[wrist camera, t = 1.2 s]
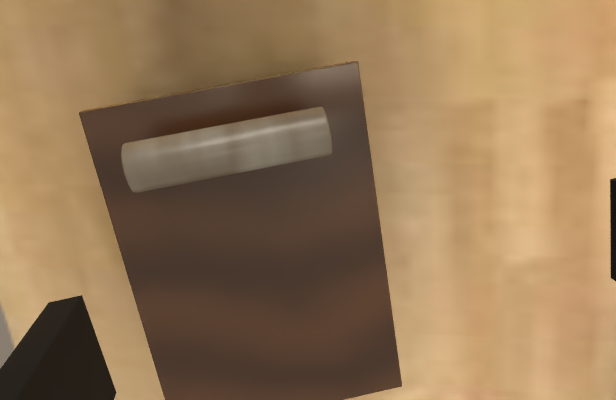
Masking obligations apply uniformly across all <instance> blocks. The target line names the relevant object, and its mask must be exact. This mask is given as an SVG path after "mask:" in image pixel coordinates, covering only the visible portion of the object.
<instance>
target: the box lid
mask: <svg viewBox="0 0 616 400" xmlns="http://www.w3.org/2000/svg"><path fill="white" fill-rule="evenodd" d="M79 115H80V118H81V122H82V125H83V128H84V132H85V135H86V138H87V142H88V145H89V148H90V152H91V155H92V158H93V162H94V165H95V168H96V172H97V175H98V178H99V182H100V185H101V188H102V191H103V195H104V198H105V201H106V205H107V208H108V211H109V215H110V218H111V221H112V225H113V228H114V231H115V235H116V238H117V241H118V245H119V248H120V251H121V255H122V258H123V261H124V265H125V268H126V271H127V275H128V278H129V281H130V285H131V288H132V291H133V295H134V298H135V301H136V304H137V308H138V311H139V314H140V318H141V321H142V324H143V328H144V331H145V334H146V338H147V341H148V344H149V348H150V351H151V354H152V358H153V361H154V364H155V368H156V371H157V374H158V378H159V381H160V384H161V388H162V391H163V394H164V398H165V400H344V399H348V398H353V397H357V396H361V395H366V394H370V393H375V392H379V391H383V390H388V389H392V388H397V387H401V386H402V382H401V374H400V367H399V360H398V352H397V345H396V338H395V330H394V323H393V316H392V308H391V301H390V293H389V286H388V279H387V271H386V264H385V257H384V249H383V242H382V235H381V227H380V220H379V213H378V205H377V198H376V190H375V183H374V176H373V168H372V161H371V154H370V146H369V139H368V132H367V124H366V117H365V110H364V102H363V95H362V87H361V80H360V73H359V65H358V62H357V61H351V62H345V63H340V64H334V65H329V66H323V67H318V68H313V69H307V70H302V71H296V72H291V73H285V74H280V75H274V76H269V77H263V78H258V79H252V80H247V81H241V82H236V83H230V84H225V85H219V86H214V87H209V88H203V89H198V90H192V91H187V92H181V93H176V94H170V95H165V96H159V97H154V98H148V99H143V100H137V101H132V102H126V103H121V104H116V105H110V106H105V107H99V108H94V109H88V110H84V111H81V112H79Z"/></svg>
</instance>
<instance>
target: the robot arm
mask: <svg viewBox="0 0 616 400" xmlns="http://www.w3.org/2000/svg"><path fill="white" fill-rule="evenodd" d="M610 200H611V278H612V279H614V280H615V281H616V178H614V179H610ZM115 395H116V391H115V388H114V385H113V382H112V379H111V376H110V374H109V371H108V368H107V365H106V362H105V359H104V357H103V354H102V351H101V348H100V345H99V342H98V340H97V337H96V334H95V331H94V328H93V326H92V323H91V320H90V317H89V314H88V311H87V309H86V306H85V303H84V300H83V297H82V295H81V296H77V297H72V298H68V299H63V300H59V301H54V302H49V303H48V304H47V306H46V307H45V309H44V310H43V311H42V313H41V314H40V315H39V317H38V318H37V319H36V321H35V322H34V324H33V325H32V326H31V328H30V329H29V330H28V332H27V333H26V335H25V336H24V337H23V339H22V340H21V341H20V343H19V344H18V346H17V347H16V348H15V350H14V351H13V352H12V354H11V355H10V357H9V358H8V359H7V361H6V362H5V363H4V365H3V366H2V367H1V369H0V400H114V398H115Z"/></svg>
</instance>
